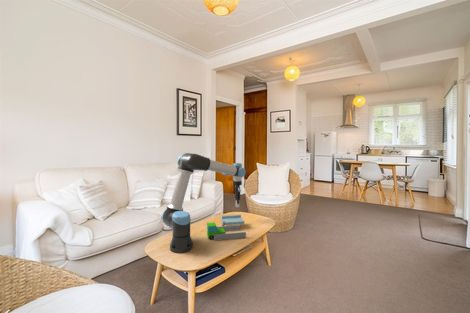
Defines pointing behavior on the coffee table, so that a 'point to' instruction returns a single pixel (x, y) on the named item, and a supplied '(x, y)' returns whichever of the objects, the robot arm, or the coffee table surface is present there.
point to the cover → (231, 220)
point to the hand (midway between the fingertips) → (237, 207)
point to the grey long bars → (230, 235)
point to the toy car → (213, 230)
